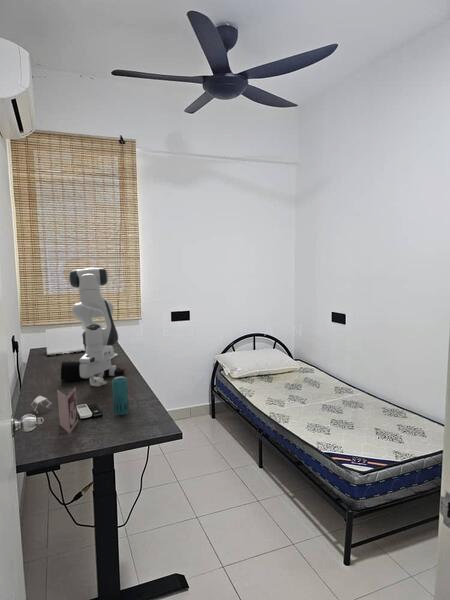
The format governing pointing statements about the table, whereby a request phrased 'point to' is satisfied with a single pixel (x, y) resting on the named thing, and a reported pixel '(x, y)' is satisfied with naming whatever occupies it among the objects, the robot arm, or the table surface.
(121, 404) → the beverage bottle
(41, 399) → the origami figure
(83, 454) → the table surface
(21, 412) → the table surface
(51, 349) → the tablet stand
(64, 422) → the greeting card
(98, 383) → the usb plug
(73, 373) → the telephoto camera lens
